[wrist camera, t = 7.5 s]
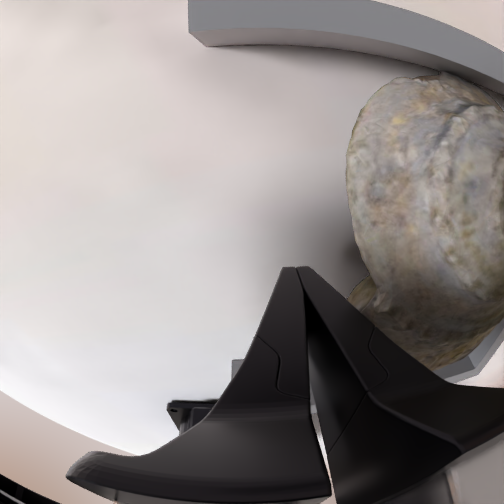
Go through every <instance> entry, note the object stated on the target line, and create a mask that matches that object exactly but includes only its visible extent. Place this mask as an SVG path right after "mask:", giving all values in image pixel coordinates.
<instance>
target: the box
mask: <svg viewBox="0 0 504 504" xmlns="http://www.w3.org/2000/svg"><path fill="white" fill-rule="evenodd" d="M188 24H189V33H190V34H191V35H193V36H194V37H195V38H196V39H197V40H199V41H200V42H201V43H202V44H203V45H205V46H206V47H211V46H225V45H250V44H274V45H299V46H313V47H324V48H333V49H342V50H349V51H356V52H362V53H368V54H373V55H379V56H384V57H389V58H393V59H398V60H402V61H406V62H410V63H414V64H418V65H421V66H425V67H429V68H432V69H435V70H439V71H444V72H447V73H450V74H453V75H456V76H458V77H460V78H462V79H465V80H468V81H470V82H473V83H476V84H478V85H481V86H483V87H486V88H488V89H490V90H493V91H495V92H497V93H499V94H502V95H504V52H503V51H501V50H499V49H498V48H496V47H494V46H492V45H490V44H488V43H486V42H485V41H483V40H481V39H479V38H477V37H475V36H472V35H470V34H468V33H466V32H464V31H462V30H459V29H457V28H455V27H452V26H450V25H448V24H445V23H443V22H440V21H437V20H435V19H432V18H429V17H427V16H424V15H421V14H418V13H415V12H412V11H409V10H405V9H402V8H399V7H395V6H392V5H388V4H384V3H380V2H376V1H372V0H188ZM503 340H504V319H503V320H502V321H501V322H500V323H499V324H497V325H496V327H495V328H494V329H493V330H492V331H491V333H490V334H489V335H488V336H487V337H486V338H485V339H484V340H483V341H482V342H481V343H480V345H479V346H478V347H477V348H476V349H475V350H474V351H473V352H471V353H470V354H469V355H468V356H467V357H465V358H464V359H462V360H460V361H457V362H455V363H453V364H449V365H447V366H445V367H443V368H441V369H438V370H435V371H432V372H434V373H435V374H436V375H438V376H439V377H441V378H442V379H444V380H446V381H448V382H450V383H456V382H459V381H462V380H465V379H468V378H470V377H473V376H476V375H478V374H479V373H480V372H481V370H482V369H483V368H484V367H485V365H486V364H487V363H488V361H489V360H490V359H491V357H492V356H493V355H494V353H495V352H496V350H497V349H498V348H499V346H500V345H501V343H502V342H503ZM242 362H243V360H232V379H233V377H234V375H235V374H236V372H237V371H238V369H239V367H240V366H241V364H242ZM232 379H231V380H232ZM310 403H311V414H315V413H317V409H316V405H315V401H314V396H313V392H312V388H311V384H310Z"/></svg>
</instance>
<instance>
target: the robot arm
mask: <svg viewBox="0 0 504 504" xmlns="http://www.w3.org/2000/svg"><path fill="white" fill-rule="evenodd" d="M310 384H311V388H312V392H313V396H314V401H315V405H316V409H317V414H318V418H319V423H320V427H321V431H322V436H323V441H324V445H325V450H326V454H327V459H328V464H329V469H330V473H331V478H332V483H333V488H334V493H335V498H336V503H337V504H504V388H491V387H477V386H466V385H457V384H453V383H450V382H448V381H446V380H444V379H442V378H441V377H439V376H438V375H436V374H435V373H434V372H432V371H431V370H430V369H428V368H427V367H426V366H424V365H423V364H422V363H420V362H419V361H418V360H416V359H415V358H414V357H412V356H411V355H410V354H408V353H407V352H406V351H405V350H403V349H402V348H401V347H399V346H398V345H397V344H396V343H395V342H393V341H392V340H391V339H390V338H389V337H388V336H386V335H385V334H384V333H383V332H382V331H381V330H380V329H379V328H378V327H375V325H374V324H373V323H372V322H371V321H370V320H369V319H368V318H367V317H365V316H364V315H363V314H362V313H361V312H360V311H359V310H358V309H357V308H355V307H354V306H353V305H352V304H351V303H350V302H349V301H348V300H347V299H345V298H344V297H343V296H342V295H341V294H340V293H339V292H338V291H336V290H335V289H334V288H333V287H332V286H331V285H330V284H329V283H327V282H326V281H325V280H324V279H323V278H322V277H321V276H320V275H318V274H317V273H316V272H315V271H314V270H313V269H312V268H310V267H309V266H300V267H296V268H295V267H283V268H282V270H281V272H280V275H279V277H278V280H277V282H276V285H275V287H274V290H273V292H272V295H271V297H270V300H269V302H268V305H267V307H266V310H265V312H264V315H263V317H262V320H261V322H260V325H259V327H258V330H257V332H256V334H255V337H254V339H253V341H252V344H251V346H250V348H249V350H248V352H247V354H246V357H245V359H244V360H243V362H242V364H241V366H240V367H239V369H238V371H237V372H236V374H235V375H234V377H233V379H232V380H231V382H230V383H229V385H228V386H227V388H226V389H225V391H224V392H223V394H222V395H221V397H220V398H219V400H218V401H217V403H216V404H194V403H174V402H170V403H168V404H167V411H168V413H169V415H170V416H171V418H172V420H173V422H174V423H175V425H176V426H177V428H178V430H179V436H178V437H176V438H175V439H173V440H172V441H170V442H168V443H167V444H165V445H164V446H162V447H160V448H159V449H157V450H155V451H153V452H151V453H149V454H145V455H141V456H122V455H116V454H112V453H107V452H101V451H91V452H88V453H87V454H85V455H84V456H83V457H82V458H80V459H79V460H78V461H77V462H75V463H74V464H73V465H72V467H70V469H69V471H68V472H67V474H66V478H67V479H68V480H70V481H71V482H73V483H74V484H77V485H79V486H80V487H82V488H84V489H87V490H89V491H91V492H93V493H95V494H97V495H99V496H102V497H104V498H106V499H109V500H111V501H114V504H320V503H321V502H323V501H324V500H326V499H327V498H329V497H330V496H331V495H332V490H331V483H330V479H329V475H328V472H327V468H326V465H325V462H324V458H323V455H322V451H321V448H320V445H319V441H318V438H317V434H316V431H315V428H314V424H313V421H312V415H311V403H310ZM0 504H60V503H58V502H55V501H53V500H51V499H49V498H46V497H44V496H42V495H40V494H38V493H36V492H33V491H31V490H29V489H27V488H25V487H23V486H21V485H19V484H18V483H16V482H14V481H12V480H10V479H8V478H6V477H5V476H3V475H1V474H0Z"/></svg>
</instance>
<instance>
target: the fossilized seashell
mask: <svg viewBox="0 0 504 504" xmlns="http://www.w3.org/2000/svg"><path fill="white" fill-rule="evenodd" d="M346 161H347V166H346V188H347V195H348V203H349V209H350V213H351V216H352V220H353V230H354V237H355V241H356V243H357V245H358V247H359V250H360V254H361V258H362V260H363V262H364V263H365V265H366V267H367V269H368V271H369V273H370V275H369V276H368V277H367V278H365V279H363V280H362V282H361V283H359V284H358V285H357V286H356V287H355V288H354V290H353V291H352V293H351V294H350V296H349V297H348V299H347V300H348V301H349V302H350V303H351V304H352V305H353V306H354V307H355V308H357V309H358V310H359V311H360V312H361V313H362V314H363V315H364V316H365V317H367V318H368V319H369V320H370V321H371V322H372V323H373V324H374V325H375V327H378V328H379V329H380V330H381V331H382V332H383V333H384V334H385V335H386V336H388V337H389V338H390V339H391V340H392V341H393V342H395V343H396V344H397V345H398V346H399V347H401V348H402V349H403V350H405V351H406V352H407V353H408V354H410V355H411V356H412V357H414V358H415V359H416V360H418V361H419V362H420V363H422V364H423V365H424V366H426V367H427V368H428V369H430V370H431V371H435V370H438V369H441V368H443V367H445V366H447V365H449V364H453V363H455V362H457V361H460V360H462V359H464V358H465V357H467V356H468V355H469V354H470V353H471V352H473V351H474V350H475V349H476V348H477V347H478V346H479V345H480V343H481V342H482V341H483V340H484V339H485V338H486V337H487V336H488V335H489V334H490V333H491V331H492V330H493V329H494V328H495V327H496V325H497V324H499V323H500V322H501V321H502V320H503V319H504V112H503V110H502V109H501V108H500V107H499V105H498V104H497V103H496V102H495V101H494V100H493V99H492V98H491V97H490V96H489V95H488V94H487V93H486V92H485V91H483V90H482V89H481V88H479V87H478V86H476V85H475V84H473V83H470V82H468V81H465V80H464V79H462V78H460V77H458V76H456V75H453V74H450V73H447V72H444V71H440V74H439V75H434V76H419V77H416V78H413V79H411V78H406V77H400V78H396V79H394V80H392V81H391V82H390V83H389V84H386V85H384V86H383V87H382V88H380V89H379V90H378V91H377V92H376V93H375V94H374V95H373V96H372V97H371V98H370V99H369V100H368V102H367V104H366V106H365V107H363V108H362V109H361V111H360V113H359V116H358V118H357V121H356V124H355V126H354V128H353V130H352V137H351V140H350V143H349V147H348V150H347V154H346Z"/></svg>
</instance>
